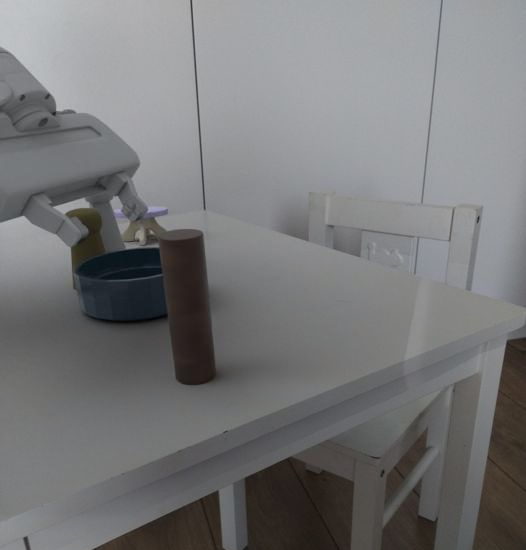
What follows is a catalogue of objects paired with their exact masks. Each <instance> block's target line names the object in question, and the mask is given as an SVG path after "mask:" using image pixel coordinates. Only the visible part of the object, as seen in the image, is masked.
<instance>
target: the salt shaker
mask: <svg viewBox="0 0 526 550" xmlns="http://www.w3.org/2000/svg"><path fill="white" fill-rule="evenodd" d="M113 199H114V196H113V195H112V194H111V193H110V192H109V191H105V192H101V193H98V194H95V195H91V196H88V197H85V198H84V200H85V201H86V203H89V204H88V205H89V207H88V208H92V209H95V210H97V211H98V212H99V213H100V215H101V218H102V228H101V230H100V234H101V237H102V240H103V244H104V247H105V250H106V252H111V251H116V250H122V249H127V247H126V245H125V242H123V239H122V236H121V235H122V234H121V230H120V228H119V225H118V221H117V217H115V215H114V212H113V211H114V209H113V206H112V203H111V201H112V200H113Z"/></svg>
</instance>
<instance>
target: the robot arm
mask: <svg viewBox="0 0 526 550" xmlns="http://www.w3.org/2000/svg"><path fill="white" fill-rule="evenodd" d="M140 166H141V160H140V158H139V156H138V153H137V151H135V150H134V148H132V147H131V146H130V145H129V144H128V143H127V142H126V141H125V140H124V139H123V138H122V137H120V136H119V135H118V134H117V133H116V132H115V131H114V130H113V129H112V128H110V127H109V126H108V125H107V124H105V123H104V121H102V120H101V119H99V118H98V117H96V116H95V115H93V114H90V113H86V112H77V111H75V110H74V109H71V108H69V109H67V108H66V109H63V110H57V102H56V99H55V97H54V95H53V94H52V93H50V91H49V90H48V89H47V88H46V87H45V86H44V85H43V84H42V83H41V82H40V81H39V80H38V79H37V78H36V77H35V76H34V74H32V72H30V70H29V69H28V68H26V66H25V65H24V64H23V63H22V62H21V61H20V60H19V59H18V58H17V57H16V56H15V55H14V54H13V53H11V52H10V51H9V50H7V49H5V48H4V47H2V46H0V224H2V223H5V222H8V221H11V220H14V219H18V218H21V217H25V218H26V219H27V221H29V222H30V224H32V225H33V226H35V227H37V228H40V229H43V230H44V231H46V232H49V233H51V234H53V235H56V236H57V238H59V239H60V240H61V241H62V242H63V243H64V244H65V245H66V246H67V247H68V248H71V247H73V246H75V245H77V244H80V243H82V242H83V241H84V240H85V238H86V237H87V236H88V233H89V231H88V228H87V227H86V226H85V225H83V224H82V222H81V221H80V220H79V219H78V218H77V217H76V216H75V217H72V218H69V217H68V216H66V215H65V213H63V212H61V211H60V210H59V209H56V208H55V207H58V206H61V205H65V204H68V203H71V202H75V201H78V200H81V199H85V197H88V196H91V195H95V194H98V193H101V192H105V191H109V192H110V193H111V194H112V195H113V198H114V197H117V198H118V199H119V201H120V204H121V206H122V209H121V208H120V209H121V212H122V213H123V214H124V215H125V216H126V217H128V218H127V219H128V220H129V222H130V221H131V222H134V221H137V220H140V219H142V218H143V217H144V216H145V214H146V213H147V211H148V207H147V206H148V204H146V203H145V202H144V201H143V200H142V199H141V197H140V196H139V195H138V191H137V190H136V187H135V183H134V182H133V181H134V180H133V179H132V178H133V177H134V176H135V174H136V173H137V172H138V169H139V168H140Z"/></svg>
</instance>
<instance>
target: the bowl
mask: <svg viewBox="0 0 526 550" xmlns="http://www.w3.org/2000/svg"><path fill="white" fill-rule="evenodd" d="M73 273H74V278H75V283H76V288H77V290H76V293H77V299H78V303H79V304H78V305H79V309H80V310H81V311H82V312H83V313H84V314H86V315H88V316H91V317H93V318H96V319H100V320H101V319H102V320H106V321H111V322H112V321H114V322H137V321H144V320H151V319H157V318H160V317H164V316H168V314H167V306H166V298H165V290H164V283H163V275H162V267H161V259H160V251H159V246H140V247H132V248H126V249H122V250H116V251H111V252H106V253H103V254H99V255H96V256H93V257H90V258H88V259H86V260H83V261H81V262H80V263H79V264H77V265H76V266H75V267H74V272H73Z"/></svg>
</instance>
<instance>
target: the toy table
mask: <svg viewBox="0 0 526 550" xmlns="http://www.w3.org/2000/svg"><path fill="white" fill-rule="evenodd" d="M147 207H148V211H147V213H146V214H145V216H144V217H143V218H142V219H140V220H137V221H134V222H131V221H130V220H129V225H128V227H127V228H125V230H124V232H122V234H121V236H122V239H123V242H124V243H125V242H127V243H128V242H135V241H136V234H137V232H138V231H139V239H138V240H139V246H140V247H143V246H146V244H147V243H148V242H147V241H148V240H147V237H150V236H151V232H152V233H153V234H154V236H155V239H156V240H158V235H159V234H161V233H163V232H166V231H168V230H167V229H166V228H164V227H163V226H161V225H160V224H159V223H158V221H157V220H156V218H157V217H158V218H159V217H163V216H167V215H168V214H169V210H168V209H169V208H168V207H166V206H160V205H159V206H158V205H147ZM122 208H123V207H122ZM122 208H117V209H113V212H114V215H115V218H116V219H128V217H126V216H125V215H124V214H123V213H122V212H121V209H122Z"/></svg>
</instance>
